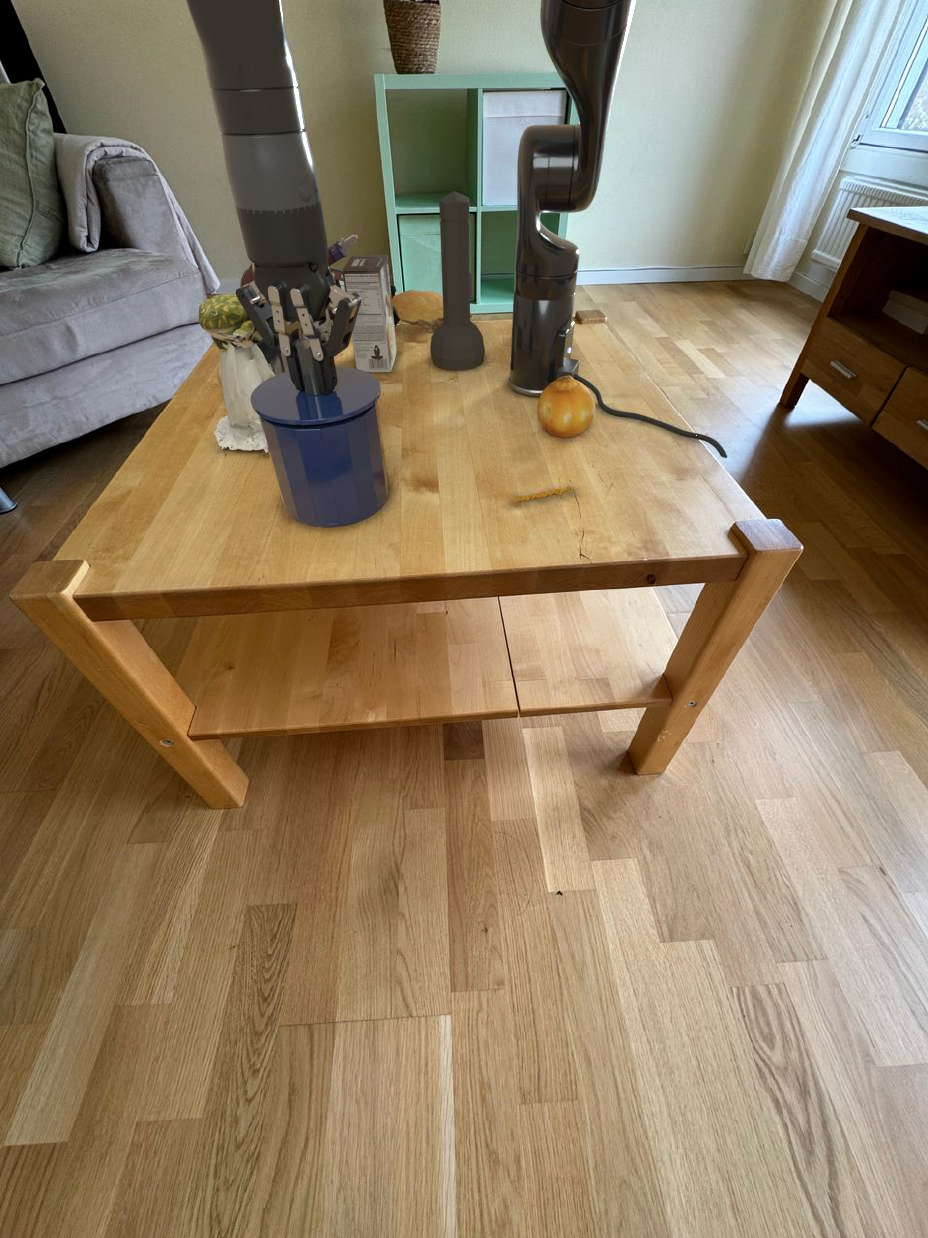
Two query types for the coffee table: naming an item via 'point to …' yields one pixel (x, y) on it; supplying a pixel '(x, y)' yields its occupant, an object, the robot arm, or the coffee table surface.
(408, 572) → the coffee table surface
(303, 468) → the tin
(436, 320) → the orange wide rounded piece
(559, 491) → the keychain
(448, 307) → the flashlight
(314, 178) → the robot arm
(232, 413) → the frog
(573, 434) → the fruit
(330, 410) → the lid
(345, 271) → the coffee box
